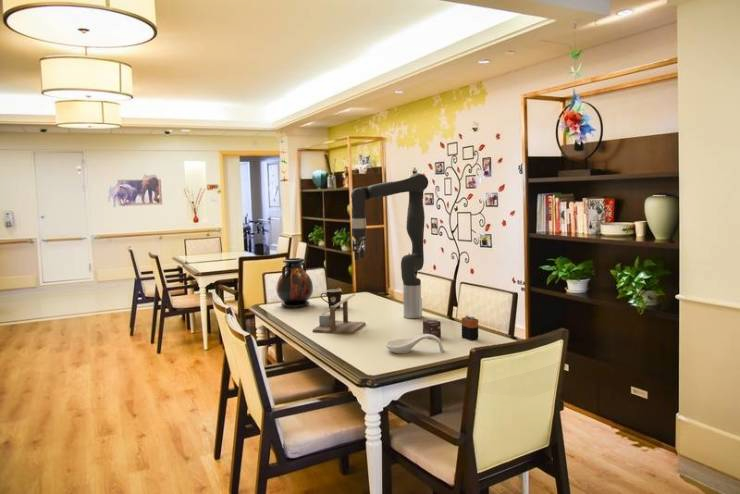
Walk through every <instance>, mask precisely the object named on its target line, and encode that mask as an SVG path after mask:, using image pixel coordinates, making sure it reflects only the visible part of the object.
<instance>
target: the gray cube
mask: <svg viewBox="0 0 740 494" xmlns="http://www.w3.org/2000/svg"><path fill="white" fill-rule="evenodd" d="M318 317H319V318H318V319H319V320H318V321H319V324H318V325H320V326H330V313H325V314H324V315H323V314H322V313H321V314H320V315H319V316H318Z"/></svg>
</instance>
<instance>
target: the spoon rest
mask: <svg viewBox="0 0 740 494" xmlns="http://www.w3.org/2000/svg"><path fill="white" fill-rule="evenodd" d="M429 338H431V339H430V340H432V341H433V340H434V341H435V342H436V343H437V344H438V347H439V351H440V353H443V352H444V347H443V343H442V340H441V338H438V337H436V336H434V335H431V334H423V333H422V334H418V335H414V336H411V337H406V338H405V337H404V338H399V339H398V338H397V339H391V340H389V341H387V342H386V343H385V347H386V348H387V349H388V350H389V352H392V353H394V354H400V355H401V354H402V355H403V354H407V353H409V352H410V351H411V350H412V349H413V348H414V347H415V346H416V345H417V344H418V343H419V342H421V341H423V340H425V339H429Z"/></svg>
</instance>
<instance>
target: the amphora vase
mask: <svg viewBox="0 0 740 494" xmlns="http://www.w3.org/2000/svg"><path fill="white" fill-rule="evenodd" d="M305 261H306V260H305V259H304V258H303V257H302V258H301V257H292V258H290V257H289V258H284V259H283V260H282V262H283V263H285V265H283V266H282V269H281V275H280V277H279V278H278V280H277V284H276V294H277V297H278V298H279V299H280V300H281V301H282V303H281V304H280V305H281V307H283V308H286V309H301V308H305V307H308V306H309V305H310V301H309V300H310V298H311V297H312V295H313V292H314V284H313V281H312V278H311V277H310V275H309V274H308V273H307V267H306V263H305Z"/></svg>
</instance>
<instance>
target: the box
mask: <svg viewBox="0 0 740 494" xmlns="http://www.w3.org/2000/svg"><path fill="white" fill-rule="evenodd" d="M441 323H442V322H441V321H440V320H436V319H427V320H422V334H431V335H434V336H436V337H438V338H439V339H441V337H442V331H441V326H442V325H441ZM428 339H429V340H432V339H431V338H428Z"/></svg>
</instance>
